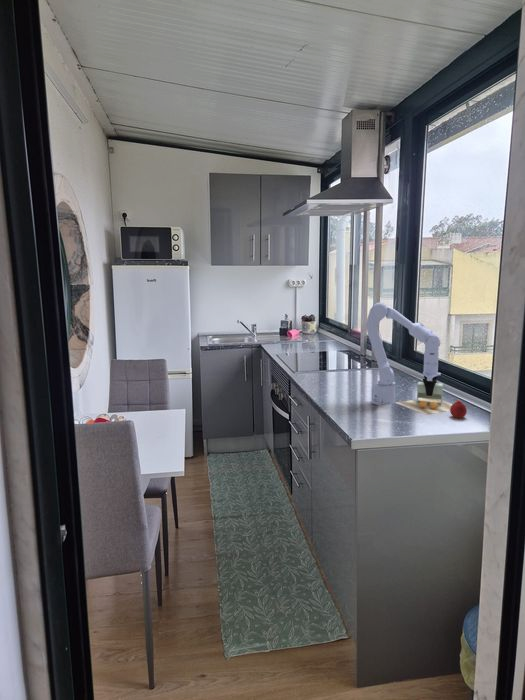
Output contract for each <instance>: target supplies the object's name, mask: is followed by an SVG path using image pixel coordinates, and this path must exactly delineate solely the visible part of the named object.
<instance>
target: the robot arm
mask: <svg viewBox="0 0 525 700" xmlns="http://www.w3.org/2000/svg"><path fill="white" fill-rule="evenodd" d="M384 318H386V319H389V320H390V319H391V320H394V321H396V322H397V323H398V324H400V325H402V326H403V327H405V328H406V329H407V330H408V334H409V335H410V336H412V337H413V338H414V339H416V340H417V341H419V342H420V343H423V344H424V351H423V354H424V355H423V372H422V375H423V379H422V382H423V383H424V385H425V389H426V395H427V396H432V394H433V389H434V386H435V384H436V383H438V380H437V379H438V376H441V374H442V373H441V372H438V371H439V356H440V355H439V350H440V345H441V339H440V338H439V337H438V335H436V334H435V333H434V332H433V331H432V330H429V329H428V328H426V327H425V325H424V324H423V323H419V322H414V323H413V321H411V320H409V319H408V318H407V317H405V316H404V315H403V314H401V313H400V312H399V311H398V310H396V309H395V308H393V307H391V306H389V305H386V304H385V303H384V302H381V301H379V302H376V303H374V304H373V305H372V307H371V308H370V310H369V313H368V316H367V319H366V321H365V329H366V333H367V336H368V338H369V342H370V345H371V347H372V351H373V354H374V358H375V361H376V363H377V367H378V368H377V369H378V371H379V372H378V375H379V380H378V381H377V384H374V385H372V387H371V401H370V404H374V405H375V406H381V405H386V404H387V405H389V404H394V403H396V402H395V401H396V400H395V399H396V397H395V393H396V382H395V371H394V370H393V368H392V367H391V366H390V362H389V360H388V358H387V354H386V352H385V351H386V350H385V348H384V344H383V342H382V339H381V336H380V332H379V329H378V327H379V324H380V322H381V321H382V320H383V319H384Z"/></svg>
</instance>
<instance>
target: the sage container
mask: <svg viewBox="0 0 525 700" xmlns="http://www.w3.org/2000/svg"><path fill="white" fill-rule="evenodd" d="M416 387H417V389H416V399H417V400H418V399H422V398H428V399H438V400H441V402H442V401H443V389H444V383H443V382H442V383H440V382H436V384H435V386H434V389H433V394H432V396H427V395H426V389H425V385H424V383H423V381H418V382H417V386H416Z"/></svg>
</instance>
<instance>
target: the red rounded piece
mask: <svg viewBox="0 0 525 700" xmlns="http://www.w3.org/2000/svg"><path fill="white" fill-rule="evenodd" d="M451 404H452V406H451V408H450V411H449V412H450V414H451V416H452V417H454V418H456V419H463V418H464V417H466V415H467V407H466V405H465V404H464V403H463V402H462V401H461V400H460V399H456V401H455V402H454V403H451Z"/></svg>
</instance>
